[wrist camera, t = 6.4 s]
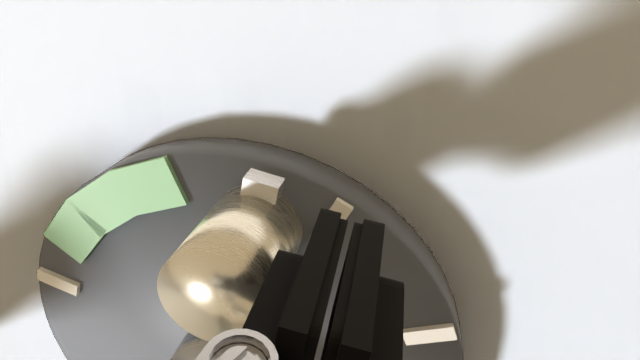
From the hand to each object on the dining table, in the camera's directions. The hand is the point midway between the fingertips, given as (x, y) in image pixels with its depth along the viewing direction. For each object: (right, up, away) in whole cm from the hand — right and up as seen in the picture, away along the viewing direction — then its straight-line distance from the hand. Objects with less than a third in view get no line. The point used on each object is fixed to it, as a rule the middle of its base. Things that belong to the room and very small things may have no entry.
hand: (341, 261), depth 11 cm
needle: (-3, -2, +5) cm, 6 cm away
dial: (-4, -4, +8) cm, 10 cm away
